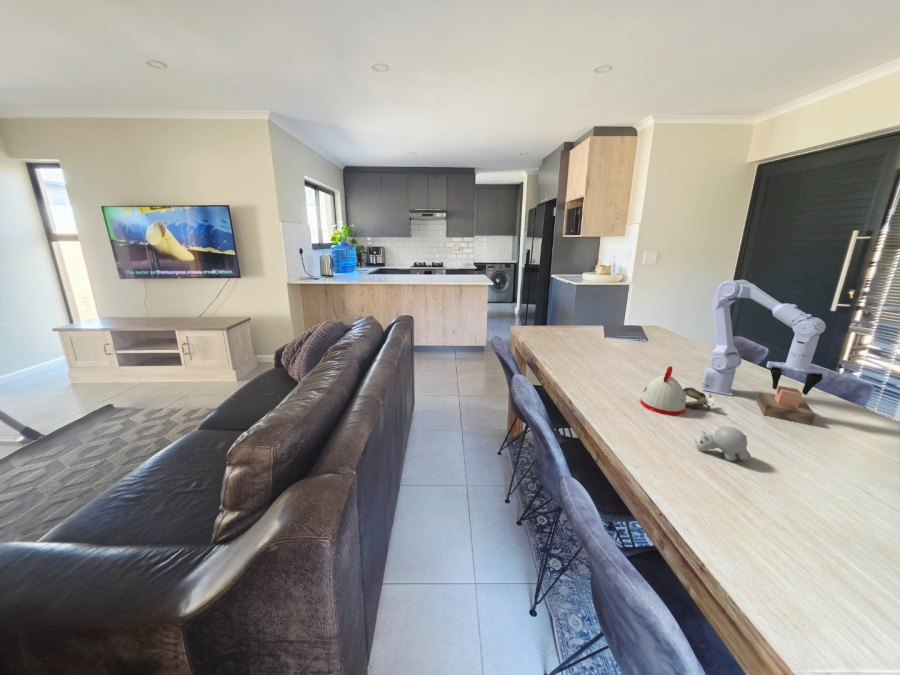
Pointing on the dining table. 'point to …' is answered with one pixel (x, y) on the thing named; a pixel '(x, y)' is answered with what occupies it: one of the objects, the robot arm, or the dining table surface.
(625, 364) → the dining table surface
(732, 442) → the round bodied animal figurine
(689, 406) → the eagle figurine
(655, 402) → the chicken-shaped dome
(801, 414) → the walnut plinth
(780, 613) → the dining table surface
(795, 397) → the terracotta cube
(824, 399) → the dining table surface
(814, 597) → the dining table surface
